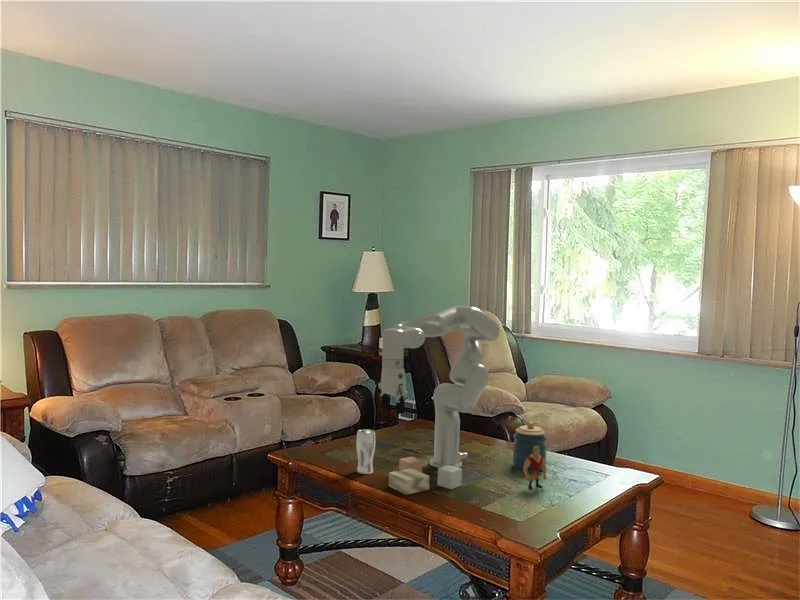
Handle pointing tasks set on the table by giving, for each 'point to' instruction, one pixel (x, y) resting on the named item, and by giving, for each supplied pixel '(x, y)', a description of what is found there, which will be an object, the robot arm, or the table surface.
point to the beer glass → (365, 450)
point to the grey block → (449, 477)
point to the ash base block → (409, 481)
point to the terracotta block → (410, 463)
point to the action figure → (534, 466)
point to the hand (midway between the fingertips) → (392, 410)
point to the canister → (528, 444)
